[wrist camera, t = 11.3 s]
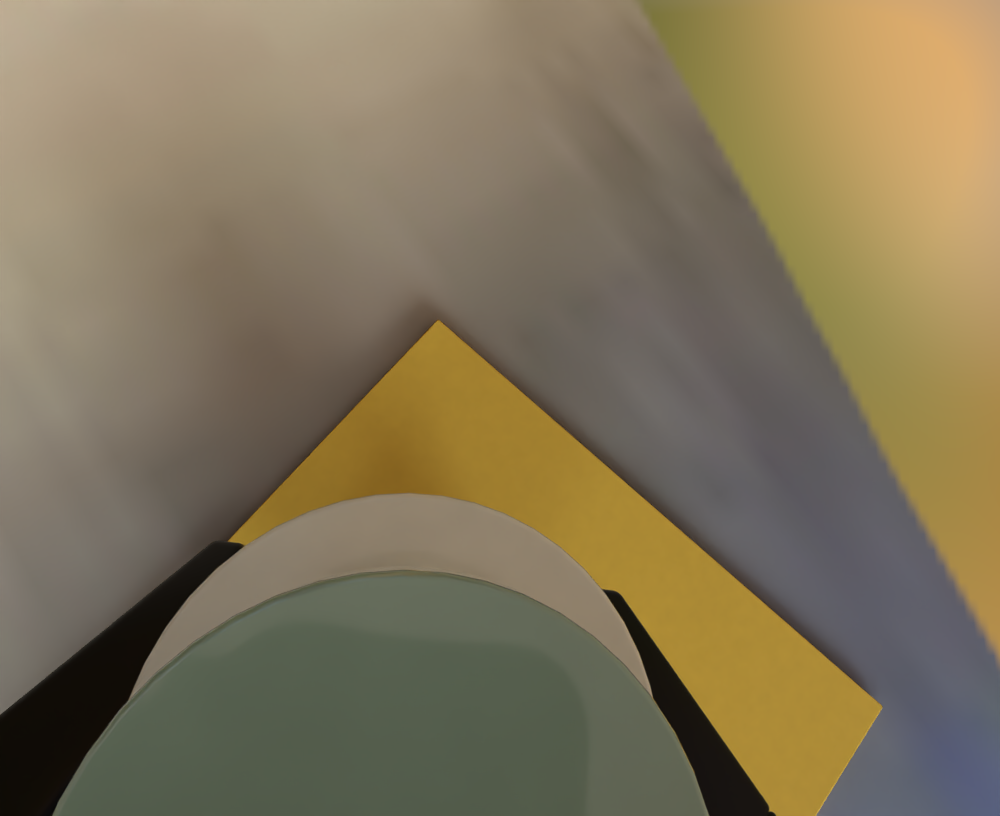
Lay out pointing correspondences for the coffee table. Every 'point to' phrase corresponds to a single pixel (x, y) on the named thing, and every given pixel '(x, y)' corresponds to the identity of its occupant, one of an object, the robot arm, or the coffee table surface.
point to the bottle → (391, 682)
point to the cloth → (594, 555)
